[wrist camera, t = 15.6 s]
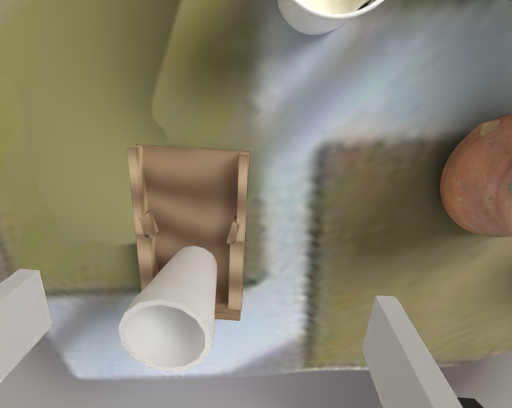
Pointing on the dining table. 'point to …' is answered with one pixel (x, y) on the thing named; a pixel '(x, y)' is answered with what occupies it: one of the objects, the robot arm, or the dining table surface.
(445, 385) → the robot arm
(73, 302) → the dining table surface
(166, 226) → the track
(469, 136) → the ceramic jug
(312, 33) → the candle holder
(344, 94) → the dining table surface
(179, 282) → the foam cup
